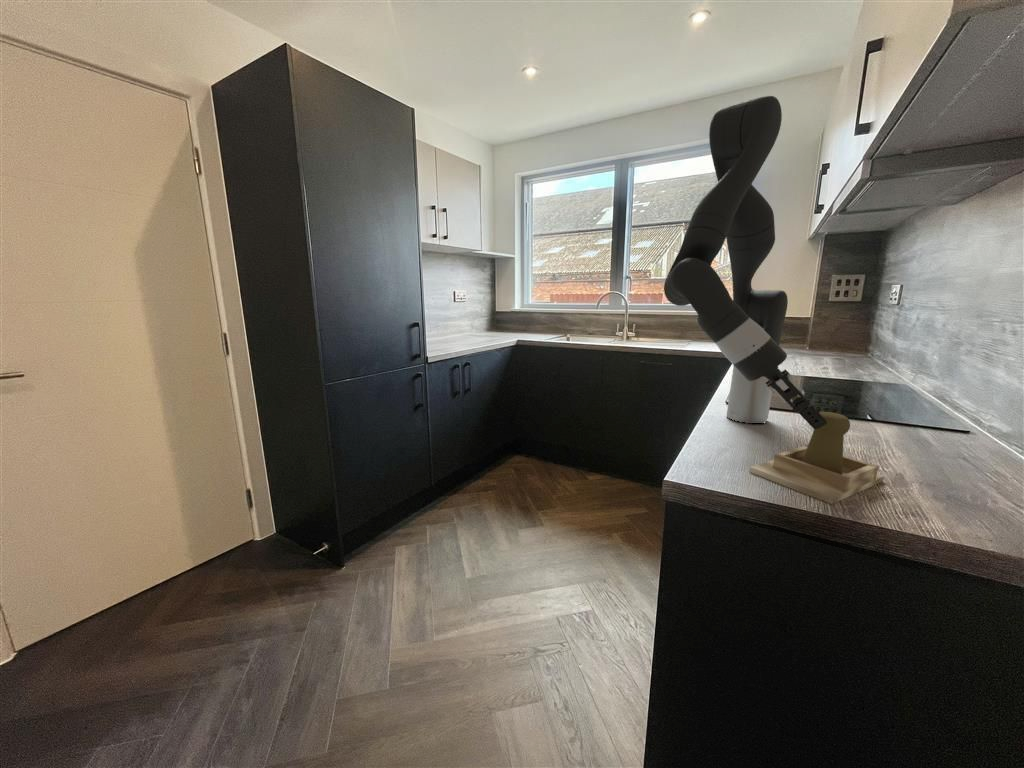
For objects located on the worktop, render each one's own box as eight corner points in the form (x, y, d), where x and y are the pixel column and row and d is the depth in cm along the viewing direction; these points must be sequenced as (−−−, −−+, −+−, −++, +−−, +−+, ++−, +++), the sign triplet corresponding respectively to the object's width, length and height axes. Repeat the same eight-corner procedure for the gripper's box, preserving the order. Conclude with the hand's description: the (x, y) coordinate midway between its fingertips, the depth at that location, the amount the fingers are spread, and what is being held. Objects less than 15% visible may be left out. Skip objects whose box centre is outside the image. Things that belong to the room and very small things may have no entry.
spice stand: (802, 455, 82) (805, 439, 81) (883, 481, 71) (887, 462, 70) (749, 471, 73) (752, 453, 73) (831, 504, 62) (836, 483, 61)
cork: (802, 476, 70) (814, 415, 67) (797, 463, 75) (807, 406, 73) (846, 484, 67) (860, 421, 65) (837, 470, 72) (850, 411, 70)
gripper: (774, 338, 64) (849, 417, 62) (764, 332, 77) (827, 397, 75) (732, 368, 68) (802, 444, 65) (729, 357, 80) (788, 420, 78)
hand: (815, 419), depth 70 cm, fingers open, 8 cm apart
